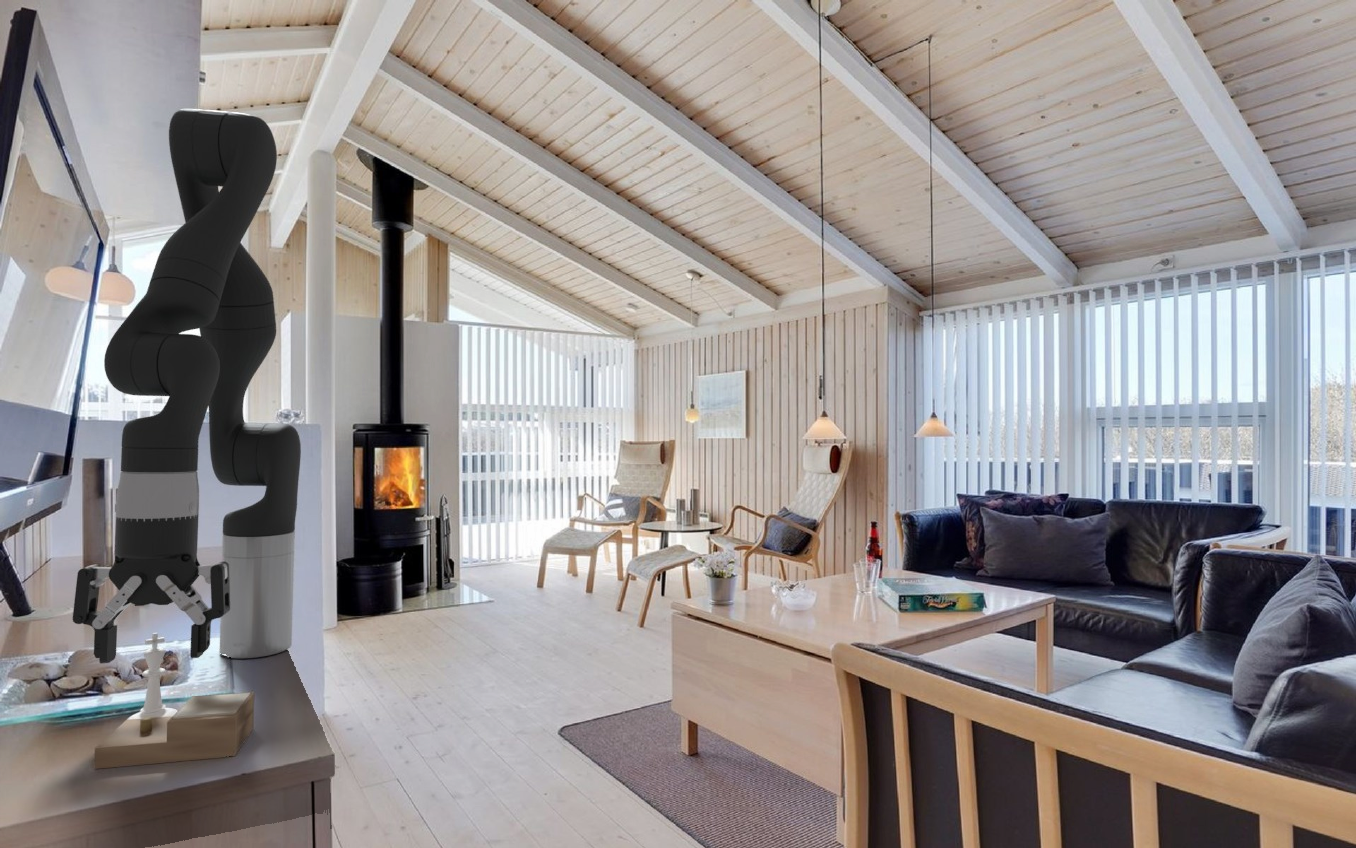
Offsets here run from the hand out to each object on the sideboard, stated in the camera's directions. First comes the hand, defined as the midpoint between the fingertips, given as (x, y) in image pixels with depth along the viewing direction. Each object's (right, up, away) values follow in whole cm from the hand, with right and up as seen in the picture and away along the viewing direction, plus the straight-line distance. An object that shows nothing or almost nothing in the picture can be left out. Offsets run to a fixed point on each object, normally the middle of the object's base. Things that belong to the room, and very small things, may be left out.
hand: (152, 658), depth 81 cm
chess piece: (0, -8, 0) cm, 8 cm away
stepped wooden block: (+7, -7, -5) cm, 11 cm away
